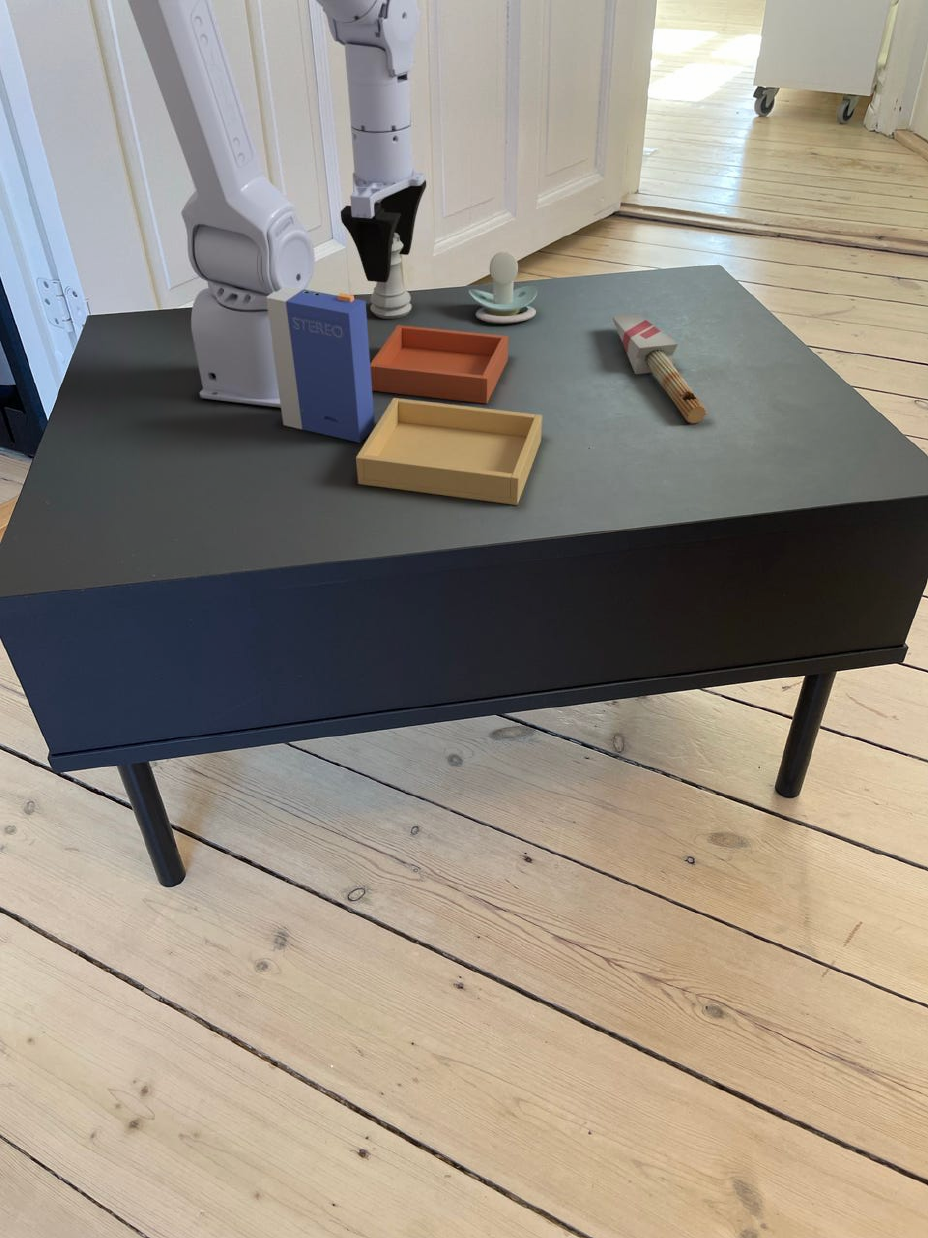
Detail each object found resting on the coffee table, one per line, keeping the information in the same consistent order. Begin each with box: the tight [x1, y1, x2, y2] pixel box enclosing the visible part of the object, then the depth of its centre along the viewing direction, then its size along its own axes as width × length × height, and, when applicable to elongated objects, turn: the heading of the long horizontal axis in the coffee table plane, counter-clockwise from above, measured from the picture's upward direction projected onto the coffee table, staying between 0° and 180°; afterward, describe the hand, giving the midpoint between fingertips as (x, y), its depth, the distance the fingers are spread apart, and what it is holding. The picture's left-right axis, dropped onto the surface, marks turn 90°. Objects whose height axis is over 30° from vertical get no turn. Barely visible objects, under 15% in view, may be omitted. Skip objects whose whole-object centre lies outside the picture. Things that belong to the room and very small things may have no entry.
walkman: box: [266, 286, 376, 444], centre depth 82 cm, size 8×3×12 cm, turn 65°
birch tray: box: [355, 397, 543, 506], centre depth 80 cm, size 13×10×2 cm
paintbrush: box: [611, 312, 707, 424], centre depth 92 cm, size 4×3×20 cm
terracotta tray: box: [370, 324, 509, 405], centre depth 92 cm, size 11×9×2 cm
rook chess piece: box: [370, 233, 413, 320], centre depth 102 cm, size 4×4×8 cm
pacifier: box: [468, 250, 538, 324], centre depth 102 cm, size 7×6×6 cm
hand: (389, 266), depth 101 cm, fingers open, 7 cm apart
